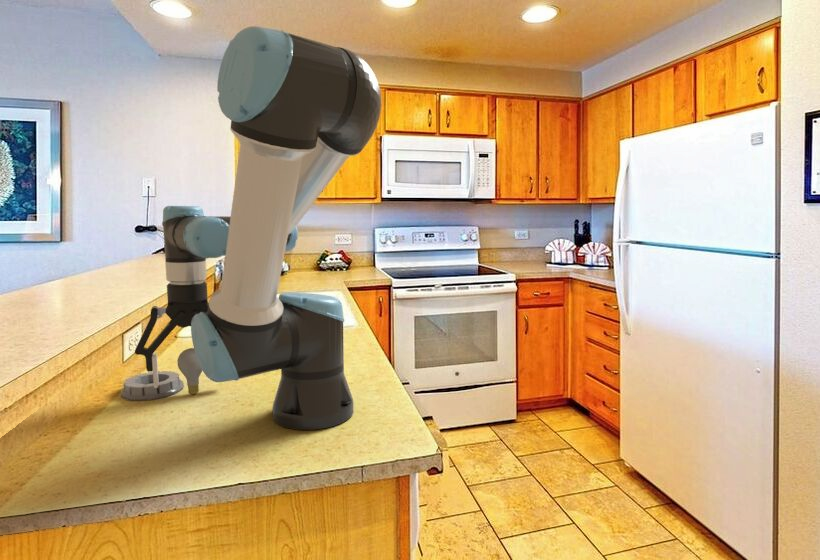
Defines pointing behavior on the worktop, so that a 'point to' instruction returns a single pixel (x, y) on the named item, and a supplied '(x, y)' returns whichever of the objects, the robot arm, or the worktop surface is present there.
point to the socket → (151, 386)
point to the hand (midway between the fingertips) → (192, 381)
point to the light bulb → (190, 369)
